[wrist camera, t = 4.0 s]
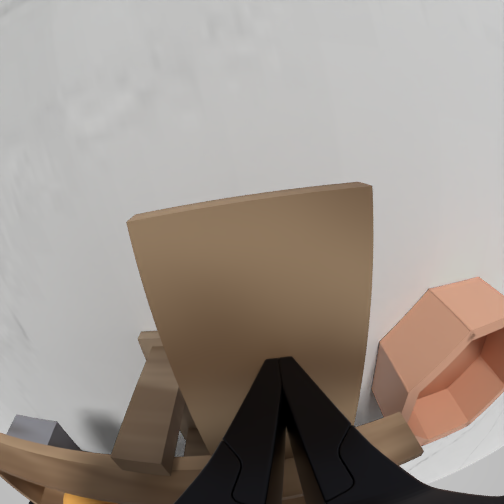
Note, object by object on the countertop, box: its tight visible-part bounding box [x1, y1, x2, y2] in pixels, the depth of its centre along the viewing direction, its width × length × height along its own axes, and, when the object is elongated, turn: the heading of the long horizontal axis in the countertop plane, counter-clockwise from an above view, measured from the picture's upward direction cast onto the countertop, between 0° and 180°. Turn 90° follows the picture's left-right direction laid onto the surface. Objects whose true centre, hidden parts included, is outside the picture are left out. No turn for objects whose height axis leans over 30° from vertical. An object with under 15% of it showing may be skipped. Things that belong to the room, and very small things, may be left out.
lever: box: [0, 182, 424, 504], centre depth 10 cm, size 17×24×5 cm
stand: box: [110, 331, 210, 476], centre depth 15 cm, size 11×4×9 cm, turn 7°
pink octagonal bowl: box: [371, 277, 504, 446], centre depth 16 cm, size 12×12×5 cm
